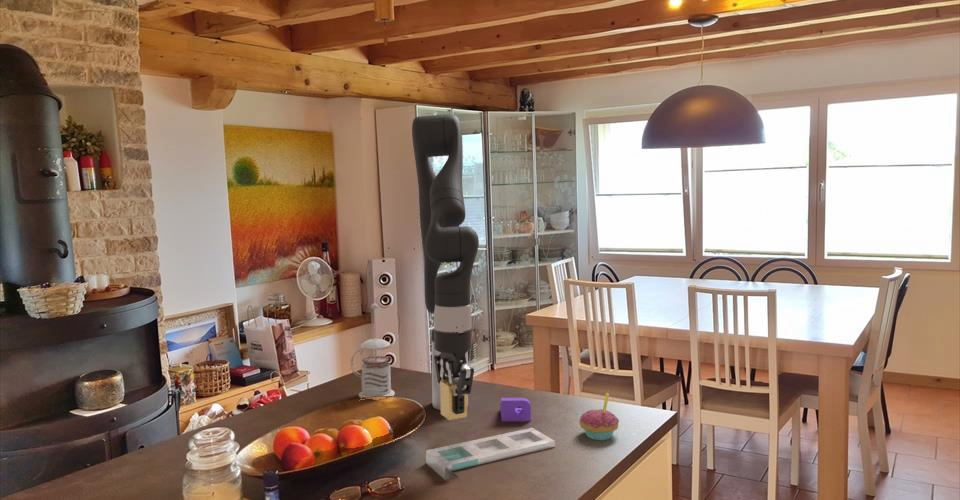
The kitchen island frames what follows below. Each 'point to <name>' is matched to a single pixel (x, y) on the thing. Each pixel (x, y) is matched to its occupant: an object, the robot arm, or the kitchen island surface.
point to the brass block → (450, 401)
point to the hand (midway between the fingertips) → (453, 409)
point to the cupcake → (599, 422)
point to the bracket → (515, 409)
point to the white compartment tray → (485, 450)
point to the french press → (375, 368)
